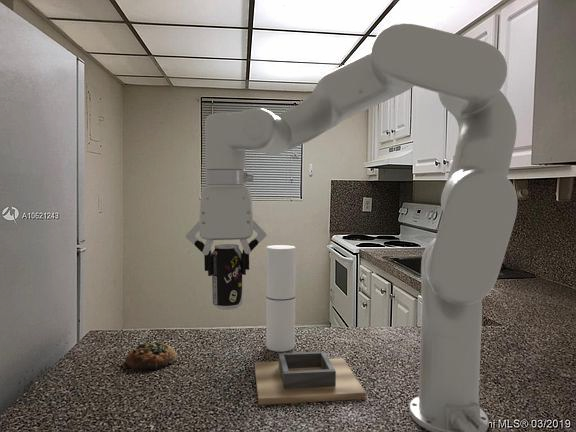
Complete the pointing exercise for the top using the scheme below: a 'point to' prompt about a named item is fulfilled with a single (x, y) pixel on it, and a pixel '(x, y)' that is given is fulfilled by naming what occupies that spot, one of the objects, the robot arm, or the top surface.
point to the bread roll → (150, 357)
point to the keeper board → (305, 379)
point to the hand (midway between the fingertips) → (227, 273)
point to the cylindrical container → (280, 298)
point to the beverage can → (227, 276)
